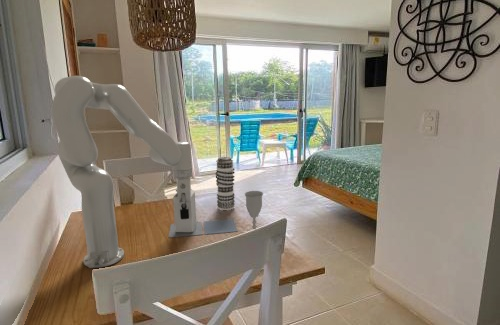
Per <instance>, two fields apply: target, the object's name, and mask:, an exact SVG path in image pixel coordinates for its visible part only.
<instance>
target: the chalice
mask: <svg viewBox="0 0 500 325" xmlns="http://www.w3.org/2000/svg"><path fill="white" fill-rule="evenodd" d="M263 195H264V192H263V191H260V190H250V191H249V190H248V191H245V193H244V196H245V207H246V210H247V212H248V215H249V216H250V218H252V226H251V227H252V230H253V229H255V230H257V229H256V228H257V224H256V223H257V221H256V220H257V219H256V218H257V217H258V216H259V214H261V209H262V207H263Z"/></svg>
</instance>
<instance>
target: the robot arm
mask: <svg viewBox="0 0 500 325" xmlns="http://www.w3.org/2000/svg"><path fill="white" fill-rule="evenodd" d="M54 93H55V95H54V97H53V100H52V102H51V103H52V104H51V112H50V113H51V119H52V122H53V126H54V129H55V132H56V134H57V136H58V138H59V141H58V144H57V148H56V149H57V155H58V157H59V160H60V162H61V164H62V166H63V169H64V171H65V173H66V174H67V177H68V179H69V182H70V183H71V185H72V186H73V187H74V189H76V190H78V191H79V192H80V194H81V214H82V215H81V216H82V220H83V227H84V229H83V230H84V236H85V243H86V249H87V254H86V255H85V256H84V257H83V262H82V263H83V265H84V266H86V267H88V268H89V269H94V268H95V269H96V268H105V267H108V266H111V265H114V264H117V263H118V262H120V261H121V260H122V259H123V258H124V256H125V250H124V249H123V248H122V247H119V241H118V239H119V238H118V230H117V223H116V222H117V221H116V213H115V203H114V192H115V191H114V190H115V189H114V188H115V185H114V181H113V177H112V176H111V174H110V173H109V172H108V171H107V170H105V169H103V168H101V167H99V166H98V165H97V163H96V162H97V159H98V156H99V150H98V147H97V145H96V142H95V140H94V138H93V135H92V133H91V131H90V128H89V126H88V122H87V119H86V108H89V109H90V108H91V109H98V110H105V111H106V110H107V111H109V112H110V113H111V114H112V115H113V116H114V117H115V118H116V120H117V121H119V123H120V124H121V125H122V126H123V127H124V128H125V130H127V132H129V134H131V135H132V136H133V137H135V138H137V139H139V140H141V141H143V142H144V143H145V144H147V145H148V146H149V147H150V148H149V149H148V150H149V151H148V156H149V158H150V159H151V161H153V162H155V163H157V164H161V165H165V166H169V167H172V178H173V179H175V180H176V189H177V192H176V193H178V201H179V203H180V207H181V209H180V216H181V219H189V209H188V202H191V189H192V186H191V178H192V177H193V164H192V160H193V159H192V147H191V143H190V142H188V141H175V140H174V139H173V138H172V137H171V135H169V133H168V132H167V131H165V130H164V129H163V128H162V127H161V126H160V125H159V124H158V123H157V122H156V121H154V120H153V119H152V118H150V116H149V115H148V114H147V113H146V112H145V110H144V109H143V108H142V107H141V105H140V104H139V103H138V102H137V101H136V99H135V98H134V97H133V95H131V93H130V91H128V90H127V88H126V87H124V86H123V85H122V84H117V83H108V84H105V83H104V84H103V83H96V82H92V81H90V79H88V78H87V77H85V76H82V75H71V76H67V77H62V78H60V79H59V80H58V81H57V82H56V83H55V86H54ZM181 198H182V202H181ZM185 198H186V199H187V200H186V201H185ZM187 201H188V202H187ZM185 203H186V204H185Z"/></svg>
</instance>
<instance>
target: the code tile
mask: <svg viewBox="0 0 500 325" xmlns="http://www.w3.org/2000/svg"><path fill="white" fill-rule="evenodd" d="M196 224H197V226H196V227H195V229H194V231H193V232H175V223H171V224H170V228H169V233H168V239H170V238H183V237H193V236H202V235H203V228H202V227H203V226H202V225H203V222H202V221H196Z"/></svg>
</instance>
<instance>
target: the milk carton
mask: <svg viewBox="0 0 500 325" xmlns="http://www.w3.org/2000/svg"><path fill="white" fill-rule="evenodd" d="M175 192H176V193H175V194H174V195H173V197H172V200H173V201H172V202H173V214H174V215H173V218H174V224H175V232H193V231H194V229H195V227H196V226H197V224H196V222H197V208H196V206H197V205H196V191H194V190H193V189H192V188H191V202H188V201H187V202H188V209H189V219H181V216H180V209H181V207H180V203H179V201H178V193H177V188H176V189H175ZM186 200H187V199H186V198H185V201H186ZM181 202H182V198H181ZM185 204H186V203H185Z"/></svg>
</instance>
